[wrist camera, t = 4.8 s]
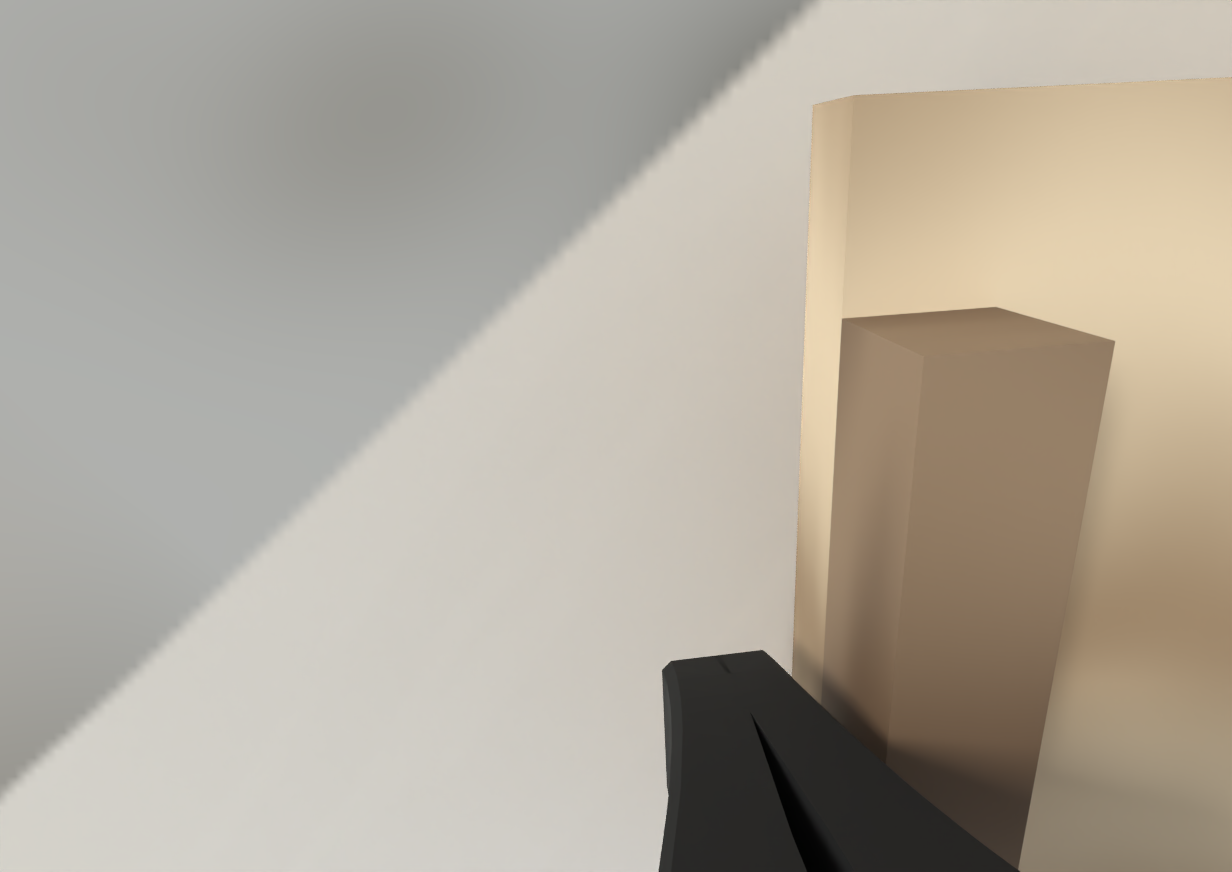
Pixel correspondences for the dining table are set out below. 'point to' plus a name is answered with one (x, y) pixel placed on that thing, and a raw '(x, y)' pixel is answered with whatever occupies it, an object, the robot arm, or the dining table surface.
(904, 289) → the lid
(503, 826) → the dining table surface
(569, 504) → the dining table surface
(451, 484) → the dining table surface
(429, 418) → the dining table surface
